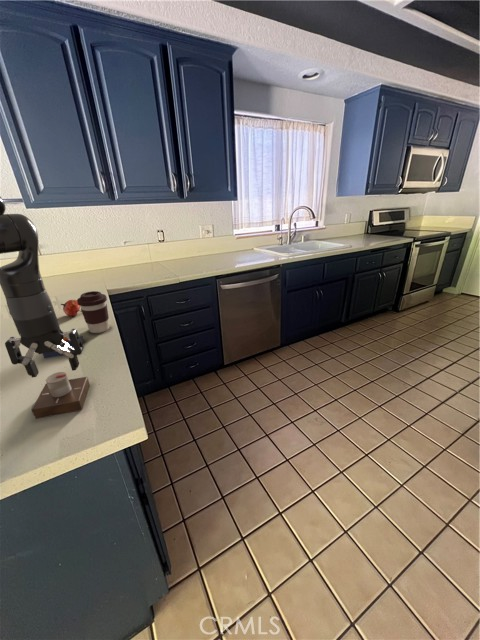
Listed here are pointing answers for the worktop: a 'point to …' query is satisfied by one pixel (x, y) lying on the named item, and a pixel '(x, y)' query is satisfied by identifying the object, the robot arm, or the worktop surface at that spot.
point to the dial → (58, 384)
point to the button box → (55, 353)
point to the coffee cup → (94, 311)
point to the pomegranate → (71, 308)
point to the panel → (62, 399)
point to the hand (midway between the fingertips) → (55, 372)
